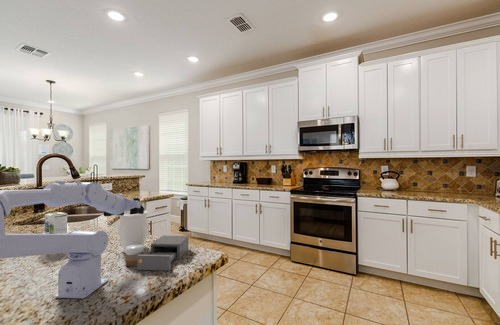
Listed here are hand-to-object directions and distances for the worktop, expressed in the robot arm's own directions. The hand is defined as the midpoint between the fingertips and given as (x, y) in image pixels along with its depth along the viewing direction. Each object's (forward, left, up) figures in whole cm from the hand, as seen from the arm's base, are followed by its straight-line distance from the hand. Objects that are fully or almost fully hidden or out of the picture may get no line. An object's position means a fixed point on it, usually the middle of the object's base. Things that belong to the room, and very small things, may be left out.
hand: (133, 211), depth 85 cm
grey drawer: (-5, -12, -17) cm, 21 cm away
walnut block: (-4, -3, -17) cm, 18 cm away
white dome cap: (-4, -3, -13) cm, 14 cm away
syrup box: (+8, +37, -17) cm, 41 cm away
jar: (+9, +5, -17) cm, 20 cm away
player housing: (+5, -12, -17) cm, 21 cm away
